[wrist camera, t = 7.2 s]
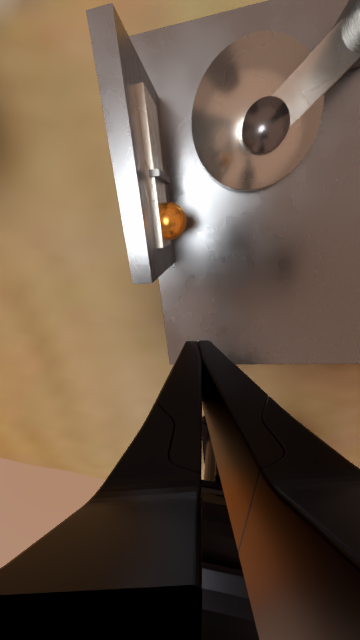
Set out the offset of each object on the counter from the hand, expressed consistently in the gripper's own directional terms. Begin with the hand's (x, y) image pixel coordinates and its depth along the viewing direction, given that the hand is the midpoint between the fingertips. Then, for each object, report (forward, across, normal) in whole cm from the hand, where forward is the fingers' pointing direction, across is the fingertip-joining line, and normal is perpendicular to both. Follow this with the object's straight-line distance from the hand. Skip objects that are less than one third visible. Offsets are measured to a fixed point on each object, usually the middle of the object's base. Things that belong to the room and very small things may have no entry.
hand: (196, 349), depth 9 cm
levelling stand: (+11, -7, -2) cm, 13 cm away
